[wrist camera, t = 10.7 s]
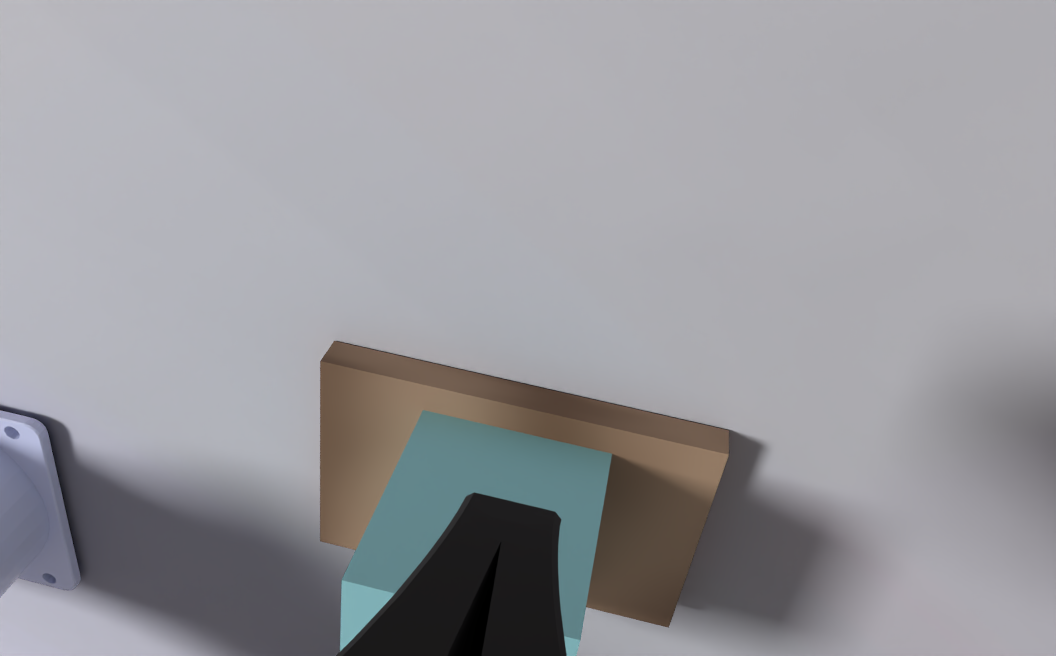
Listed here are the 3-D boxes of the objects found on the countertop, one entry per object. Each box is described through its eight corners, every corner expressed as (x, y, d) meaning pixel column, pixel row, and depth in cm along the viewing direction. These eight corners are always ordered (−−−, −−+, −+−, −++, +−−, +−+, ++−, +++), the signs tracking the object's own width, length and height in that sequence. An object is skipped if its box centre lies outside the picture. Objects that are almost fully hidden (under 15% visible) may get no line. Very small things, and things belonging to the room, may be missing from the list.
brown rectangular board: (332, 518, 28) (262, 650, 24) (334, 341, 24) (251, 461, 20) (670, 601, 27) (659, 754, 23) (728, 430, 23) (728, 576, 19)
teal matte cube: (411, 542, 27) (338, 720, 22) (423, 409, 24) (341, 580, 19) (579, 583, 26) (544, 775, 21) (612, 453, 23) (579, 640, 18)
